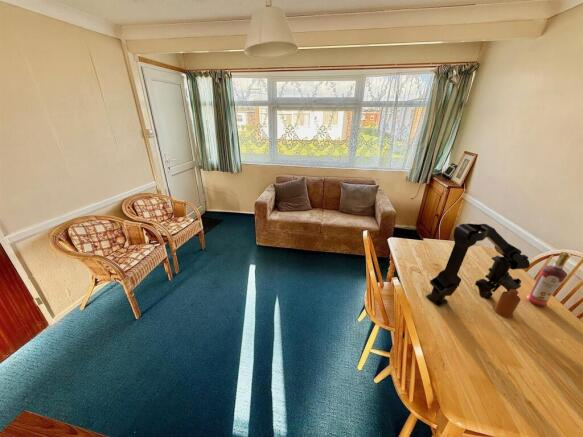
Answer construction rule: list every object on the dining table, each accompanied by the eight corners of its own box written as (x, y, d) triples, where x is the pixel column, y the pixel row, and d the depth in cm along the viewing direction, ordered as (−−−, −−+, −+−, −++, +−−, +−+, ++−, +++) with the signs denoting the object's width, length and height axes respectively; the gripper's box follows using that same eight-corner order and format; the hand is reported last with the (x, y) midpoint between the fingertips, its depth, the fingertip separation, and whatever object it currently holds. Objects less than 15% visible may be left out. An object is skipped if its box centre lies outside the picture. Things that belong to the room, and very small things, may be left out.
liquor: (545, 302, 109) (577, 253, 96) (546, 311, 104) (580, 261, 92) (525, 294, 113) (552, 246, 101) (524, 302, 108) (554, 253, 96)
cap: (482, 298, 111) (484, 294, 110) (479, 292, 115) (481, 288, 113) (492, 299, 110) (494, 296, 109) (488, 294, 113) (490, 290, 112)
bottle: (506, 319, 100) (519, 297, 94) (491, 309, 105) (502, 288, 99) (514, 314, 102) (526, 293, 97) (498, 305, 107) (509, 284, 102)
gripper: (509, 285, 95) (495, 312, 101) (532, 273, 102) (517, 299, 108) (480, 270, 104) (469, 296, 111) (503, 260, 111) (491, 284, 117)
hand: (487, 294), depth 111 cm, fingers open, 9 cm apart
